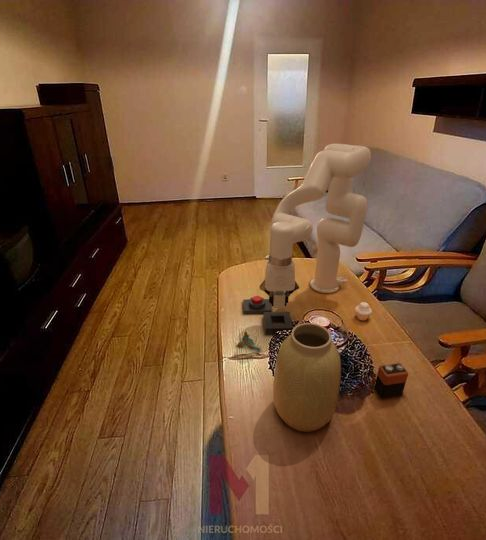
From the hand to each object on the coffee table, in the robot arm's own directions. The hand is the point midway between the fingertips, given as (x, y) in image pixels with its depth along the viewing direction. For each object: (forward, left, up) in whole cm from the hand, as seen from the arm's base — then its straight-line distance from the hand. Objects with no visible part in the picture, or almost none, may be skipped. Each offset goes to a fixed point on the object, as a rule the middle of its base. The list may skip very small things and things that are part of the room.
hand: (278, 303), depth 125 cm
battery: (-29, +32, -10) cm, 44 cm away
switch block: (+7, -12, -10) cm, 17 cm away
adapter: (0, 0, -10) cm, 10 cm away
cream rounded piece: (-33, -4, -10) cm, 35 cm away
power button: (+7, -12, -7) cm, 16 cm away
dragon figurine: (+11, +11, -10) cm, 19 cm away
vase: (-3, +38, -10) cm, 39 cm away
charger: (0, 0, 0) cm, 0 cm away
